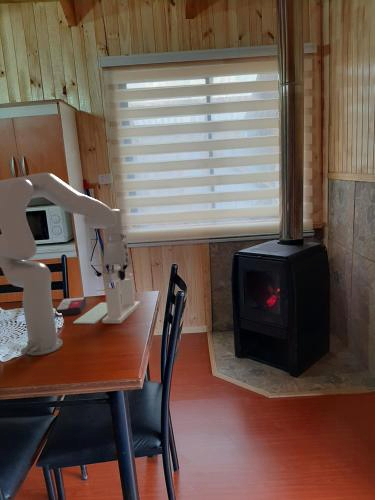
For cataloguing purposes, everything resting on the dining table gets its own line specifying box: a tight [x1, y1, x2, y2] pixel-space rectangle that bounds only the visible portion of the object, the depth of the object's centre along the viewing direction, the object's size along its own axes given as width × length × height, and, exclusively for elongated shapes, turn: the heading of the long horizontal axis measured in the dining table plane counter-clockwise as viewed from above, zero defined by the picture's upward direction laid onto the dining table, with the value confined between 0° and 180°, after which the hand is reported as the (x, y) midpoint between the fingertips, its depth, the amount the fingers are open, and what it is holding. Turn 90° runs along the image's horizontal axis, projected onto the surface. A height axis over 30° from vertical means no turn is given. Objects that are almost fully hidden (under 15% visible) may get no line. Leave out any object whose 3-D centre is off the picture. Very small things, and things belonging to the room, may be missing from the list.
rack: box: [101, 273, 141, 324], centre depth 159 cm, size 24×8×16 cm, turn 167°
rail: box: [102, 265, 131, 284], centre depth 157 cm, size 20×4×4 cm, turn 167°
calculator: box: [55, 296, 87, 316], centre depth 171 cm, size 11×4×15 cm
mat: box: [72, 301, 108, 325], centre depth 164 cm, size 26×10×1 cm, turn 167°
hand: (118, 279), depth 158 cm, fingers closed on rail, 3 cm apart
